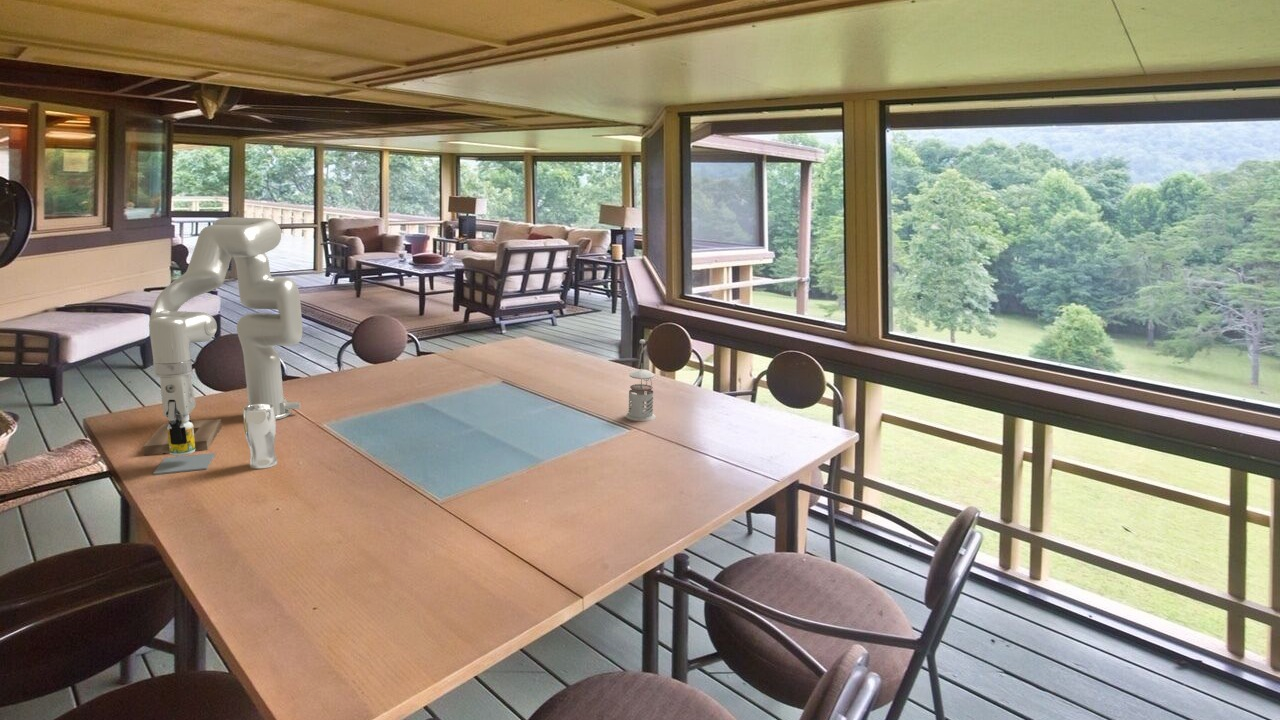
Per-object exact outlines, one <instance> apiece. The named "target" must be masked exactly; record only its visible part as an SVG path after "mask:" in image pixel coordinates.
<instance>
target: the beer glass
mask: <svg viewBox="0 0 1280 720" xmlns="http://www.w3.org/2000/svg"><path fill="white" fill-rule="evenodd" d="M242 420H243V421H242V422H243V430H244V435H245V438H246V441H247V444H248V447H249V452H250V459H249V461H250V462H249V467H250V468H251V469H254V470H255V469H256V470H257V469H258V470H262V469H268V468H272V467H274V466H276V465H277V464H278V458H277V456H276V453H275V451H276V450H275V443H276V442H275V441H276V431H277V425H276V424H277V422H276V421H277V420H275V414H274V409H273V405H272V404H267V403H261V404H253V405H249V404H248V405H245V406H244V407H243V408H242Z"/></svg>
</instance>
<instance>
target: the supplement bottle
mask: <svg viewBox="0 0 1280 720" xmlns="http://www.w3.org/2000/svg"><path fill="white" fill-rule="evenodd" d="M176 415H180V414H176ZM176 419H178V420H179V422H180V418H176ZM189 420H191V418H189V415H187V416H185V415H183V425H184V427H185V429H186V437H187V442H186V443H184V444H171V439H170V431H169V425H168V427H167V430H168V440H169V451H170V453H169V454H170V455H171V456H172V457H177V456H188V455H191V454H194V453H195V452H196V451H195V439H194V427H193V424H192V423H191V422H189Z"/></svg>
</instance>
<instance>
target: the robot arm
mask: <svg viewBox="0 0 1280 720" xmlns="http://www.w3.org/2000/svg"><path fill="white" fill-rule="evenodd" d="M281 240H282V229H281V227H280V225H279V224H278V223H277V222H276V221H275V220H273V219H271V218H264V217H240V216H239V217H236V216H235V217H233V216H231V217H228V216H227V217H222V218H218V219H216V220H215V221H214V223H213V224H212V225H207V226H205V227H203V228H202V230H200V232H199V234H198V237H197V239H196V243H195V247H193V248H194V249H193V252H192V254H191V258H190V261H189V264H188V266H187V269H186V271H185V272H184V273H183V274H182V275H180V276H179V277H178V278H176V279H175V280H173V281H172V282H171V283H170V284H168V285H167V286H166V287H165V288H164V289H163V290H162V291H161V292H160V294H158V296H157V298H156V299H155V303H154V305H153V308H152V310H151V313H150V316H149V321H148V322H149V323H148V328H149V336H150V337H149V338H150V344H151V352H152V353H151V354H152V360H153V369H154V374H155V375H154V376H155V377H156V378H160V379H159V380H160V392H161V393H160V395H161V402H162V404H161V405H162V411H163V415H164V417H166V418H167V420H168V421H167V422H168V423H169V431H170V439H171V444H184V443H186V442H187V437H186V429H185V427H184V425H183V415H185V416H187V415H189V418H190V419H189V422H191V421H192V419H191V413H192V411H193V410H194V409H195V407H196V398H195V393H194V386H193V381H192V377H191V374H193V366H192V357H191V349H190V345H191V344H193V343H194V344H195V343H203V342H207V341H209V340H211V339H212V338H213V337H214V336H215V334H216V332H217V330H218V325H217V324H218V323H217V321H216V319H215V318H214V316H212V315H211V314H208V313H207V312H201V311H187V310H185V311H183V310H182V311H179V310H180V308H182V306H183V305H184V304H186V303H187V302H188V301H190V300H192V299H194V298H196V297H198V296H200V295H204V294H207V293H209V292H211V291H213V290H217V289H219V288H220V287H221V286H223V284H224V283H225V280H226V277H227V273H228V270H229V267H230V264H231V261H232V259H233V260H234V263H235V267H236V275H237V284H238V294H239V300H240V303H241V304H242V306H243V307H245V308H247V309H252V310H277V312H278V313H268V312H267V313H266V312H264V313H263V312H261V313H260V312H253V313H248V314H245V315H242V316H241V317H240V318H239V319H238V321H237V324H236V333H237V336H238V339H239V343H240V345H241V350H242V355H243V362H244V364H243V365H244V373H245V374H244V375H245V383H246V392H247V400H248V401H247V402H248V403H247V404H248V405H253V404H261V403H267V404H272V405H273V409H274V414H275V420H276V421H277V420H280V419H284V418H287V417H289V416H290V415H291V410H292V409H293V410H300V409H301V402H297V401H287V398H286V397H284V391H283V390H284V389H283V378H282V367H281V365H282V364H281V358H280V355H279V353H278V352H277V351H276V349H275V348H274V347H273V346H279V347H282V346H283V347H288V346H289V347H291V346H296V345H298V344H299V343H300V342H301V340H302V337H303V330H304V329H303V318H302V315H303V314H302V306H301V295H300V290H299V287H298V285H297V283H296V282H295V280H294V279H292V278H289V277H285V276H284V277H283V276H282V277H281V276H272V274H271V268H270V260H269V258H268V256H267V254H266V253H268V252H271V251H272V250H274V249H276V248H277V246H279V244H280V243H281ZM176 414H180V415H176ZM176 418H180V422H179V420H178V419H176Z"/></svg>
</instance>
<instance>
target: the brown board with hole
mask: <svg viewBox="0 0 1280 720" xmlns="http://www.w3.org/2000/svg"><path fill="white" fill-rule="evenodd" d="M191 423H192V424H193V427H194V439H195V450H200V451H208V450H209V448H210V446H211V445H212V443H213V442H214V440H215V439H214V438H216V437H217V435H218V434H217V433H219V432H220V431H219V430H221V429H222V419H221V418H216V419H203V420H191ZM168 425H169V422H163V423H162V425H160V427H158V429H157V430H156V431H154V434H152V436H151V437H150V438H149V439H148V440H147V441H146V442H145V443H144V444H143V454H144V456H151V455H150V454H155V455H164V454H163V453H166V454H170V451H169V440H168V430H167V427H168Z"/></svg>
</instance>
